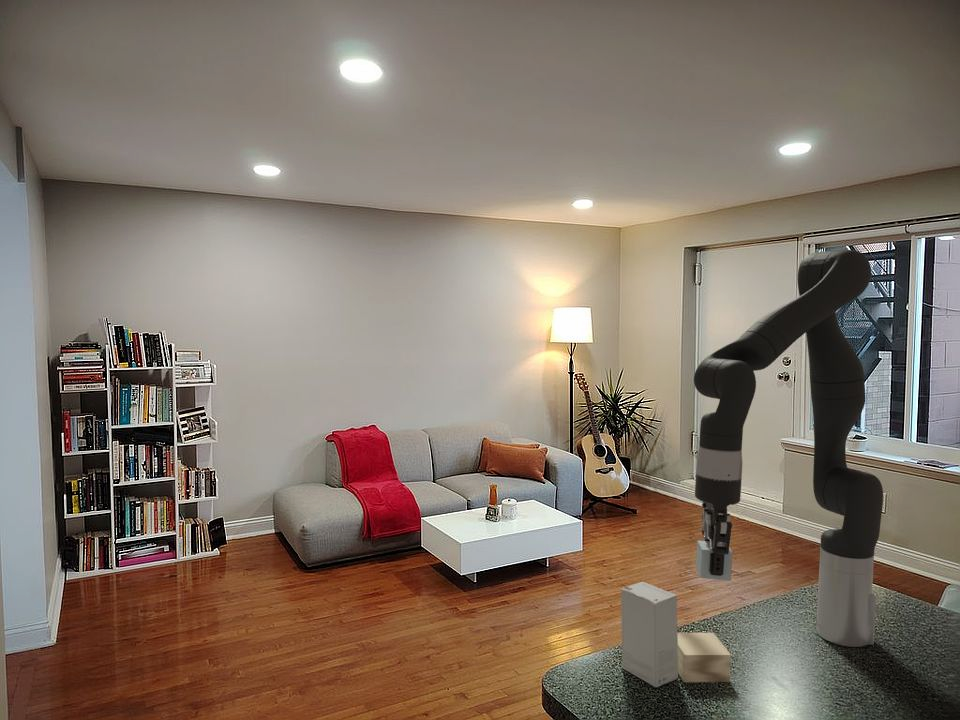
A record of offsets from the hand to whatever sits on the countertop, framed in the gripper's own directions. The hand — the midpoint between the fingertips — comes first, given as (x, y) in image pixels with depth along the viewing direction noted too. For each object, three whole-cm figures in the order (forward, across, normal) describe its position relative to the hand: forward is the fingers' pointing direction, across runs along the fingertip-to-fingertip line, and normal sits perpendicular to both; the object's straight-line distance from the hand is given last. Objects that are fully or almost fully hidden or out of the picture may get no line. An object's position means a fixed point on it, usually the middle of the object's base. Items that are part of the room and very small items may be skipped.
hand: (713, 568), depth 119 cm
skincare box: (+19, -4, +10) cm, 22 cm away
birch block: (+18, 0, +2) cm, 19 cm away
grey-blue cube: (+1, 0, 0) cm, 1 cm away
